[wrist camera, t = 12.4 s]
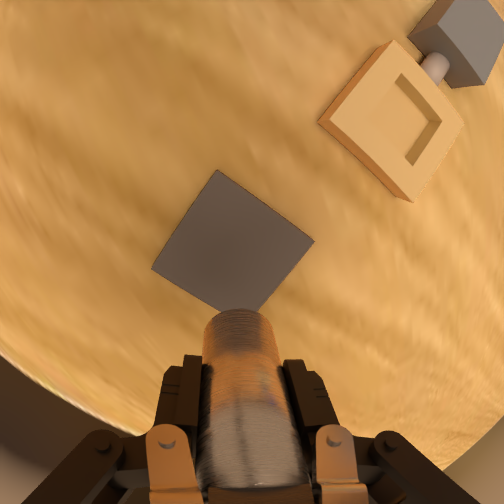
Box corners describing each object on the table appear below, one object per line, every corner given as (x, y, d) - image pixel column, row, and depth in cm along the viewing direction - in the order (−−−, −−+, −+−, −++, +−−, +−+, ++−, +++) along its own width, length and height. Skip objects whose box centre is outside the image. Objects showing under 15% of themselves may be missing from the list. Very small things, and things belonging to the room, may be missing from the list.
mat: (152, 266, 25) (150, 268, 24) (217, 169, 22) (216, 170, 22) (244, 321, 27) (244, 325, 27) (312, 239, 25) (314, 241, 24)
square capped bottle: (205, 305, 13) (190, 521, 4) (278, 310, 13) (339, 511, 4) (203, 361, 14) (196, 543, 5) (268, 364, 15) (303, 539, 6)
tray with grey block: (395, 196, 24) (427, 208, 20) (316, 122, 22) (339, 117, 17) (488, 45, 18) (515, 40, 14) (435, -18, 16) (459, -31, 11)
